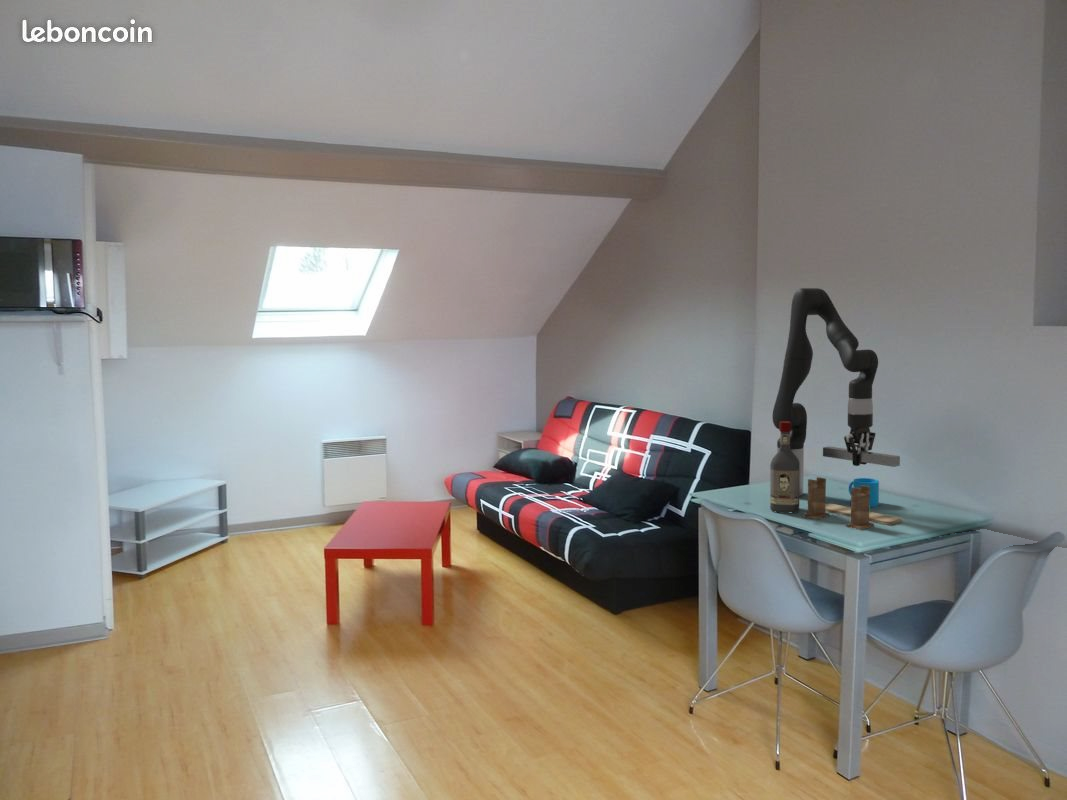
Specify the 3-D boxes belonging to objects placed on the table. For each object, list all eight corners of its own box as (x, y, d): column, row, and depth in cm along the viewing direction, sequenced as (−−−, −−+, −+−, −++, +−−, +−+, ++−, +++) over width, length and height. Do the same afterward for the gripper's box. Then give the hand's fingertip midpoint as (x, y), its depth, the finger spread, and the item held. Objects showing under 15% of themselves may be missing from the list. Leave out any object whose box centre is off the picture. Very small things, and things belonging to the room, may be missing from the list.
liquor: (771, 506, 285) (771, 419, 281) (799, 507, 282) (800, 420, 278) (769, 512, 276) (770, 423, 273) (798, 514, 273) (799, 424, 270)
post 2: (845, 526, 256) (846, 487, 255) (859, 522, 260) (860, 484, 259) (860, 529, 252) (860, 490, 251) (873, 525, 256) (874, 486, 255)
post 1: (803, 516, 270) (803, 479, 268) (817, 513, 274) (817, 476, 272) (816, 519, 266) (816, 481, 264) (829, 516, 269) (830, 478, 268)
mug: (884, 504, 282) (884, 481, 281) (865, 507, 279) (865, 484, 278) (858, 497, 293) (858, 475, 292) (839, 500, 290) (840, 477, 289)
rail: (822, 456, 277) (822, 447, 277) (828, 455, 279) (828, 446, 278) (894, 466, 255) (894, 457, 255) (899, 465, 257) (899, 456, 257)
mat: (818, 509, 278) (818, 506, 278) (831, 506, 282) (831, 503, 282) (888, 525, 256) (889, 522, 256) (902, 521, 260) (902, 518, 260)
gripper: (863, 409, 272) (862, 460, 274) (836, 413, 265) (836, 466, 266) (883, 410, 266) (883, 463, 268) (857, 415, 258) (856, 469, 260)
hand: (859, 464), depth 267 cm, fingers closed on rail, 3 cm apart
